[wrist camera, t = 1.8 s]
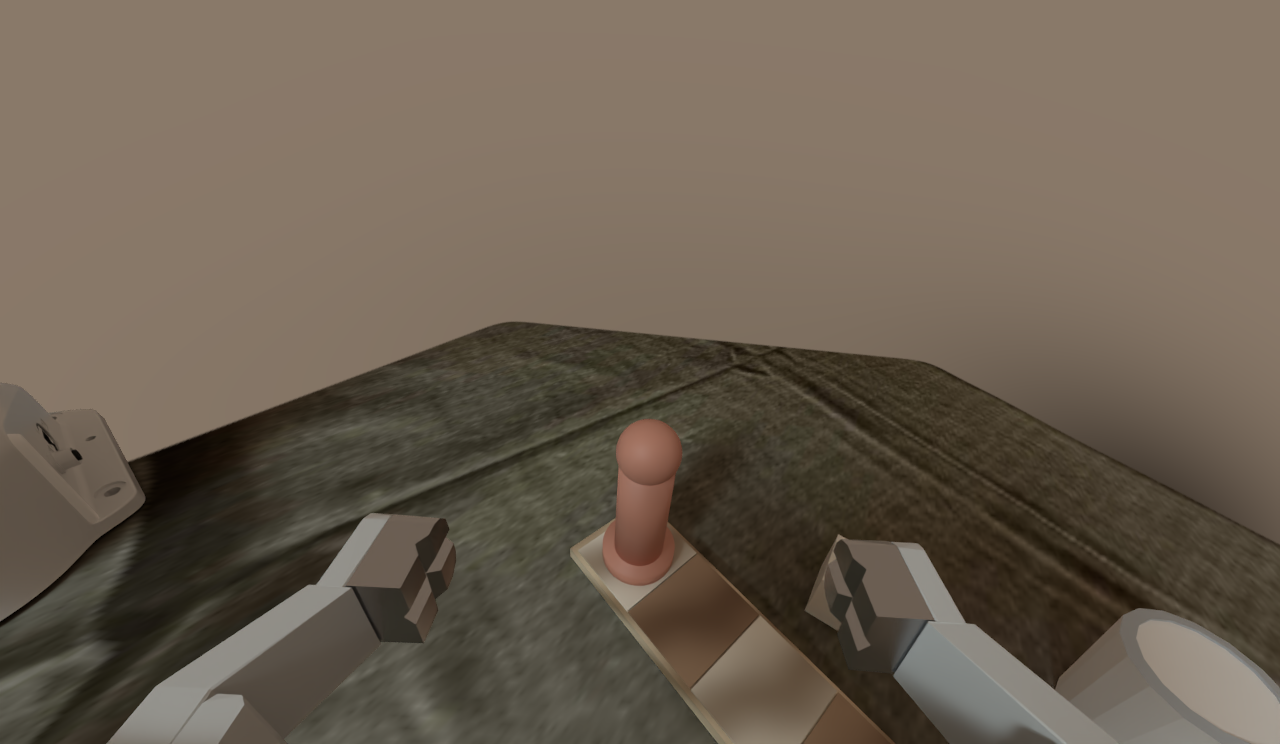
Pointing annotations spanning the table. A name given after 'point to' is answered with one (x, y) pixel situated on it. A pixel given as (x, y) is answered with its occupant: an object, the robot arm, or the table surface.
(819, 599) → the die
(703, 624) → the board
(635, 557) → the pawn
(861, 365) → the table surface
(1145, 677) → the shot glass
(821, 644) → the table surface
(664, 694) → the table surface
